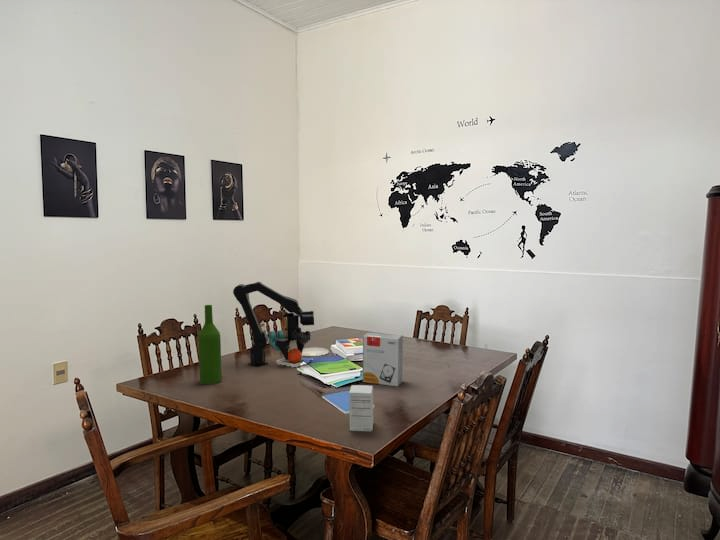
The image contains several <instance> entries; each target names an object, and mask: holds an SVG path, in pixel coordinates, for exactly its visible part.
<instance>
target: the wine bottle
mask: <svg viewBox="0 0 720 540" xmlns="http://www.w3.org/2000/svg"><path fill="white" fill-rule="evenodd" d="M213 319H214V317H213V305H212V304H205V305H204V325H203V327H202V328H201V330H200V331H199V333H198V337H197V338H198V340H197V341H198V361H199V362H198V363H199V365H198V367H199V368H198V369H199V383H200V382H201V383H200V384H202V383H203V384H202V385H215V384H214V383H216V384H218V382H219V383H221V382H222V380H223V379H222V378H223V377H222V375H223V372H222V349H221V348H222V347H221V346H222V345H221V344H222V343H221V333H220V331H219V329H218V328H217V326H216V325H215V324H214V322H213V321H214V320H213ZM220 381H221V382H220Z"/></svg>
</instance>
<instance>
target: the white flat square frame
mask: <svg viewBox="0 0 720 540" xmlns="http://www.w3.org/2000/svg"><path fill="white" fill-rule="evenodd" d="M302 358H303V357H302ZM302 358H301V359H302ZM283 361H284V362H283ZM301 362H302V361H299V362H298V363H291V362H287V361H286V360H285V358H284V357H283V358H280V359H277V360H275V364H276V363H277V364H276V365H280V364H281V366H284V365H286V366H285V367H289V366H291V367H290V368H293V367H296V368H298V366H299V367H301V366H300V363H301Z"/></svg>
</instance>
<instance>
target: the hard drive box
mask: <svg viewBox="0 0 720 540" xmlns="http://www.w3.org/2000/svg"><path fill="white" fill-rule="evenodd" d="M403 337H404V336H403V335H402V334H390V333H381V332H367V333H365V334H363V336H362V383H367V384H371V385H372V384H376V385H383V386H384V385H386V386H391V387H399V385H400V384H402V382H403V354H404V353H403V352H404V351H403V349H404V348H403V345H404V344H403V343H404V342H403V339H404V338H403Z"/></svg>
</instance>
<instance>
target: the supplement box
mask: <svg viewBox="0 0 720 540" xmlns="http://www.w3.org/2000/svg"><path fill="white" fill-rule="evenodd" d="M349 391H350V392H349V414H348V415H349V431H351V432H373V427H374V408H373V405H374V385H361V384H360V385H355V384H351V386H350V389H349Z"/></svg>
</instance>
